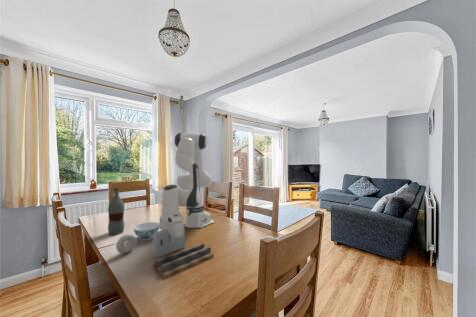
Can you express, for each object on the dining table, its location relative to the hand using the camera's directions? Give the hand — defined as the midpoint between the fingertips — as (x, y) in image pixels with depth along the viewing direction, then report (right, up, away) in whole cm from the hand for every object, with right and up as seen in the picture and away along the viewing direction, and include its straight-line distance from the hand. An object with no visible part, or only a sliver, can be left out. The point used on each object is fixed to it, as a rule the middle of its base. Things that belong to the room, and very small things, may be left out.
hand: (170, 241), depth 106 cm
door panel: (0, -6, 0) cm, 6 cm away
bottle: (-46, -6, +26) cm, 53 cm away
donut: (-23, -6, -2) cm, 23 cm away
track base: (+11, -6, -10) cm, 16 cm away
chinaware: (-21, -6, +17) cm, 28 cm away
